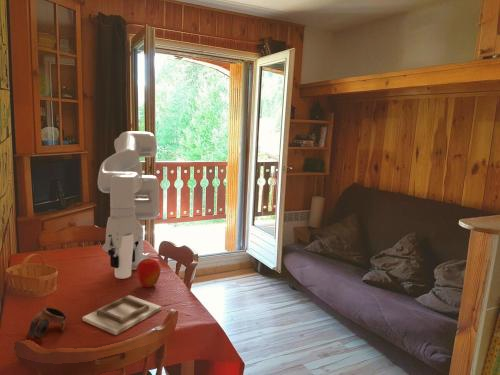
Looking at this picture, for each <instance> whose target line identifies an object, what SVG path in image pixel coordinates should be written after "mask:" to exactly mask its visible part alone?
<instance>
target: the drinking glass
mask: <svg viewBox="0 0 500 375" xmlns="http://www.w3.org/2000/svg"><path fill="white" fill-rule="evenodd" d="M133 245H134V238H133V233H132V234H131V235H127V236H122V242H121V247H120V248H118V250H119V251H118V254H117V256H118V257H119V267H118V268H114V267H113V268H114V276H115V278H117V279H128V278H130V277H131V276H132V270H131V268H132V256H133ZM113 246H114V244H113ZM114 251H115V248H113V252H114Z"/></svg>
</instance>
